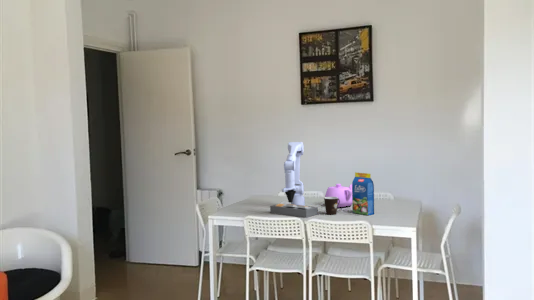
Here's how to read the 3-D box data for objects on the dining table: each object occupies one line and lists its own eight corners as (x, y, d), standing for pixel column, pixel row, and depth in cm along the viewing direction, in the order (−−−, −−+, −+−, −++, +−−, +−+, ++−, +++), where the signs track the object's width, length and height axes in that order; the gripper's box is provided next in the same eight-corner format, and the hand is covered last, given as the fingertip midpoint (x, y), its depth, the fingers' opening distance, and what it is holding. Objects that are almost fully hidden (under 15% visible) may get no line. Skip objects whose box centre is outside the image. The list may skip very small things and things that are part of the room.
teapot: (342, 210, 303) (341, 186, 303) (320, 205, 321) (320, 183, 320) (367, 206, 316) (367, 183, 315) (345, 202, 333) (345, 180, 333)
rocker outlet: (305, 208, 295) (305, 206, 296) (313, 209, 292) (313, 207, 292) (297, 207, 289) (297, 205, 289) (304, 208, 285) (305, 206, 285)
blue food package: (367, 215, 284) (367, 174, 283) (352, 213, 293) (351, 172, 292) (374, 214, 288) (373, 173, 286) (358, 211, 297) (358, 171, 296)
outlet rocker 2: (294, 207, 301) (294, 205, 301) (301, 208, 298) (301, 206, 298) (285, 206, 294) (285, 203, 295) (292, 206, 291) (293, 204, 291)
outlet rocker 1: (283, 202, 307) (282, 200, 307) (290, 203, 303) (289, 201, 303) (274, 208, 300) (274, 206, 300) (281, 208, 297) (281, 206, 297)
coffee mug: (327, 215, 287) (327, 199, 286) (322, 213, 295) (321, 197, 295) (345, 214, 290) (345, 198, 290) (339, 211, 298) (338, 196, 298)
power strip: (282, 209, 310) (281, 203, 310) (317, 214, 292) (317, 207, 292) (270, 212, 301) (270, 205, 300) (306, 217, 283) (306, 210, 282)
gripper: (287, 182, 285) (288, 204, 285) (302, 179, 296) (302, 201, 296) (278, 181, 289) (279, 203, 290) (293, 179, 300) (293, 200, 301)
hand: (290, 202), depth 294 cm, fingers closed
